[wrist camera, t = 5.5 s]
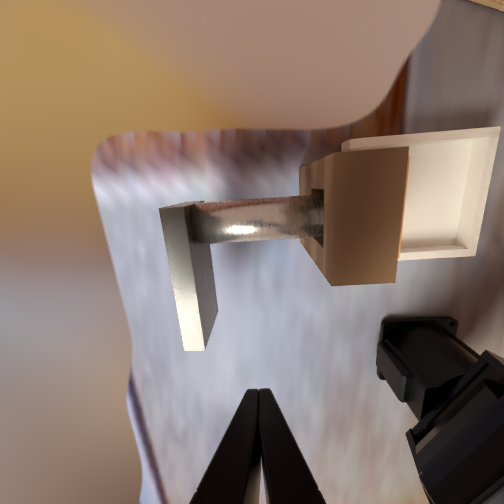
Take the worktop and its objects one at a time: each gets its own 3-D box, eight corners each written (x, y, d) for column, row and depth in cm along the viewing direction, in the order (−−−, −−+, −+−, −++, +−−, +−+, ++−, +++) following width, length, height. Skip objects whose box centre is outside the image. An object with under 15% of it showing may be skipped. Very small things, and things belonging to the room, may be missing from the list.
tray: (476, 131, 17) (500, 126, 15) (456, 249, 20) (475, 256, 18) (341, 143, 18) (350, 138, 16) (338, 256, 20) (345, 263, 18)
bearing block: (338, 164, 18) (409, 146, 9) (336, 239, 20) (395, 282, 11) (299, 167, 18) (334, 152, 10) (300, 242, 20) (331, 286, 11)
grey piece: (318, 192, 15) (341, 195, 11) (318, 306, 17) (336, 345, 13) (186, 201, 16) (158, 208, 11) (202, 311, 18) (184, 351, 14)
